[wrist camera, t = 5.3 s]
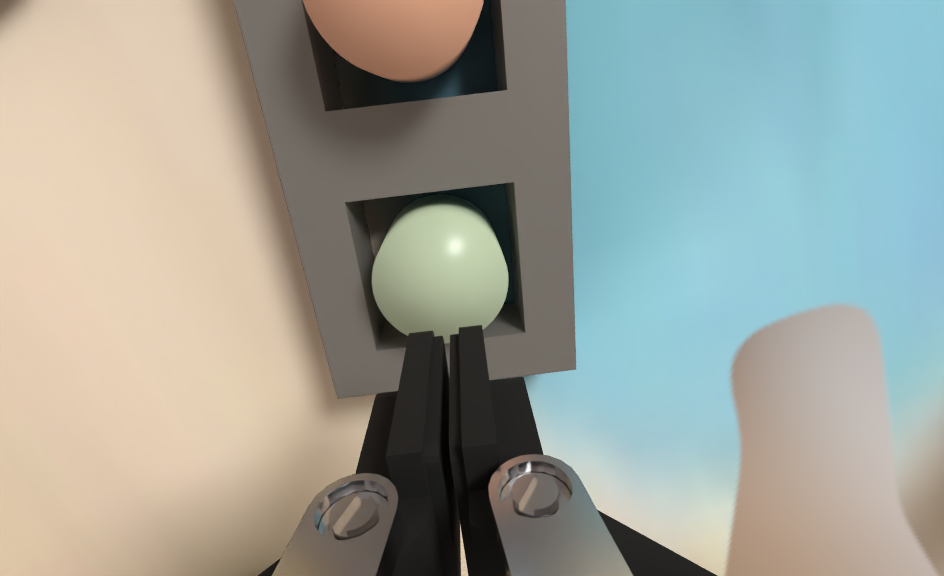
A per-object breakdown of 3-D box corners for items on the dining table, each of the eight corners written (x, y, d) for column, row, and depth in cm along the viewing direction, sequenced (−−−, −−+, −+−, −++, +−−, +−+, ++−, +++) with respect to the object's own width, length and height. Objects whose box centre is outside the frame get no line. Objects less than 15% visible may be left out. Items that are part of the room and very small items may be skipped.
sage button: (491, 187, 19) (502, 207, 15) (501, 293, 21) (513, 335, 17) (375, 201, 19) (359, 225, 15) (396, 307, 21) (385, 351, 17)
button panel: (517, -649, 12) (539, -884, 9) (559, 335, 22) (576, 369, 19) (119, -607, 12) (16, -832, 9) (351, 361, 22) (337, 398, 19)
